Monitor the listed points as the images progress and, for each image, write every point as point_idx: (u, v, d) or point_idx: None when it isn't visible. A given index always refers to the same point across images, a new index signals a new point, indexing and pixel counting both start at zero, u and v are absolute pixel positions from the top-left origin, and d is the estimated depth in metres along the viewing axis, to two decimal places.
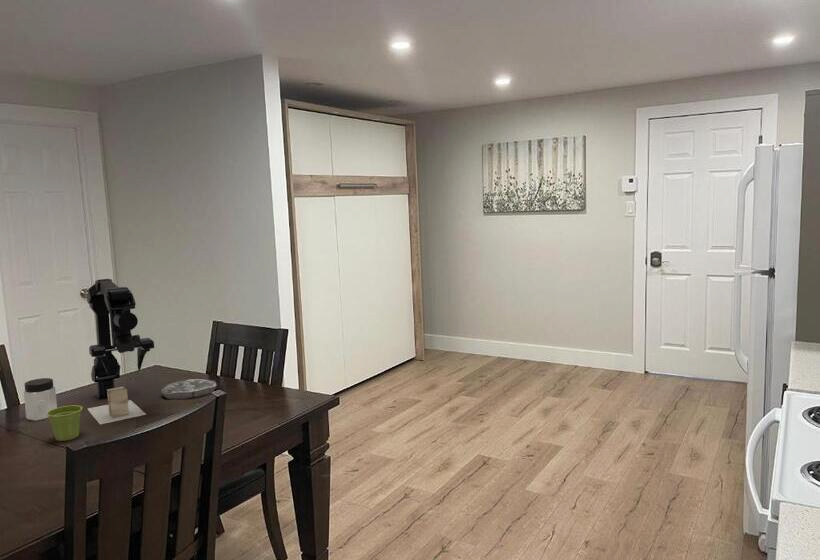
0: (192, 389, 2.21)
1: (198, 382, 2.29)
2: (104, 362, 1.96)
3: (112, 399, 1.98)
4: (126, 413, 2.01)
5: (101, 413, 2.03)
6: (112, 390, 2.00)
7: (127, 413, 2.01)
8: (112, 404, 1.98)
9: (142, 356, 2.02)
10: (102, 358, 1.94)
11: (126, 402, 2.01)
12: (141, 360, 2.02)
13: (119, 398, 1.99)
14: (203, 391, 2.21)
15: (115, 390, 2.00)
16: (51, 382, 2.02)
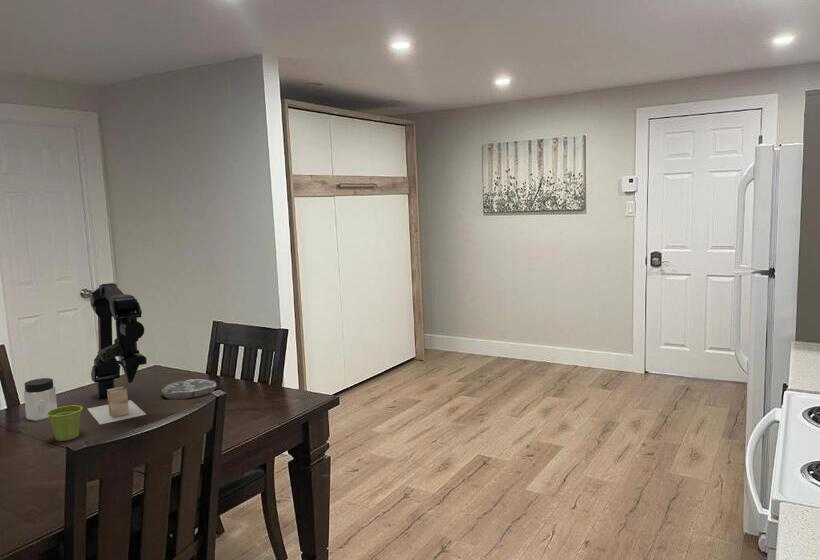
0: (192, 389, 2.21)
1: (198, 382, 2.29)
2: (123, 368, 1.97)
3: (112, 399, 1.98)
4: (126, 413, 2.01)
5: (101, 413, 2.03)
6: (112, 390, 2.00)
7: (127, 413, 2.01)
8: (112, 404, 1.98)
9: (125, 369, 1.95)
10: (118, 363, 1.97)
11: (126, 402, 2.01)
12: (126, 373, 1.95)
13: (119, 398, 1.99)
14: (203, 391, 2.21)
15: (115, 390, 2.00)
16: (51, 382, 2.02)
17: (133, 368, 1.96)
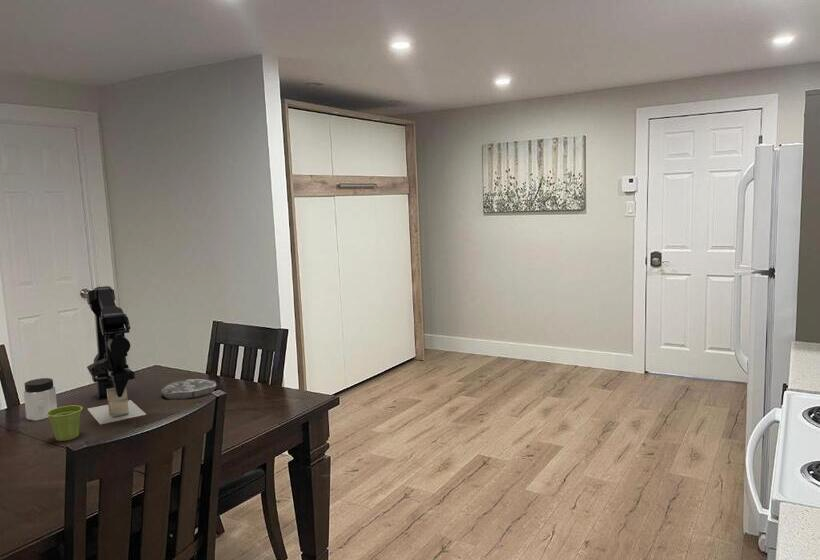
0: (192, 389, 2.21)
1: (198, 382, 2.29)
2: (113, 382, 1.99)
3: (112, 397, 1.98)
4: (126, 412, 2.01)
5: (101, 413, 2.03)
6: (111, 389, 2.01)
7: (127, 412, 2.01)
8: (112, 403, 1.98)
9: (114, 384, 1.97)
10: (108, 378, 1.98)
11: (126, 401, 2.01)
12: (115, 387, 1.97)
13: (118, 397, 2.00)
14: (203, 391, 2.21)
15: (114, 389, 2.01)
16: (51, 382, 2.02)
17: (122, 383, 1.98)
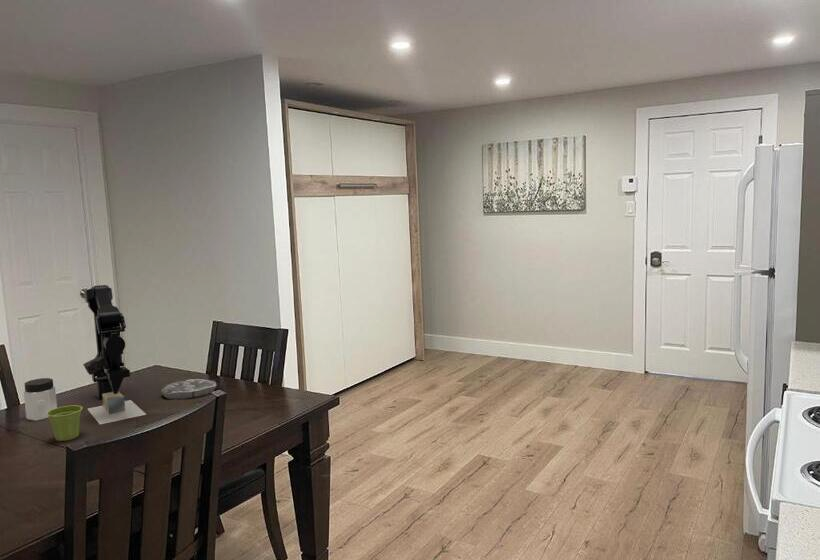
0: (192, 389, 2.21)
1: (198, 382, 2.29)
2: (108, 379, 2.03)
3: (104, 395, 2.07)
4: (121, 396, 2.05)
5: (101, 413, 2.03)
6: None
7: (122, 396, 2.05)
8: (105, 396, 2.06)
9: (110, 381, 2.01)
10: (104, 375, 2.03)
11: (119, 393, 2.08)
12: (111, 385, 2.02)
13: (111, 394, 2.08)
14: (203, 391, 2.21)
15: None
16: (51, 382, 2.02)
17: (118, 380, 2.02)
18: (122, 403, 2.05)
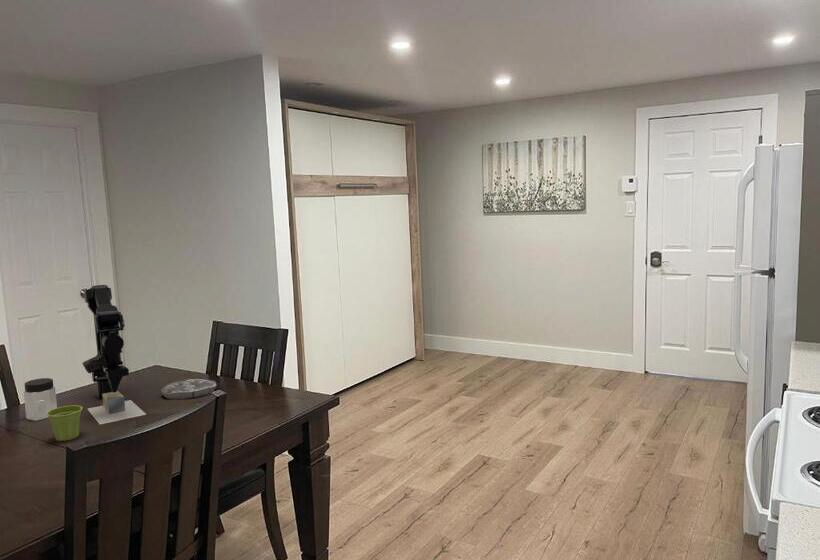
0: (192, 389, 2.21)
1: (198, 382, 2.29)
2: (107, 378, 2.04)
3: (104, 395, 2.07)
4: (121, 396, 2.05)
5: (101, 413, 2.03)
6: None
7: (122, 396, 2.05)
8: (105, 396, 2.06)
9: (109, 380, 2.02)
10: (103, 374, 2.04)
11: (119, 393, 2.08)
12: (110, 383, 2.03)
13: (111, 394, 2.08)
14: (203, 391, 2.21)
15: None
16: (51, 382, 2.02)
17: (117, 378, 2.04)
18: (122, 403, 2.05)
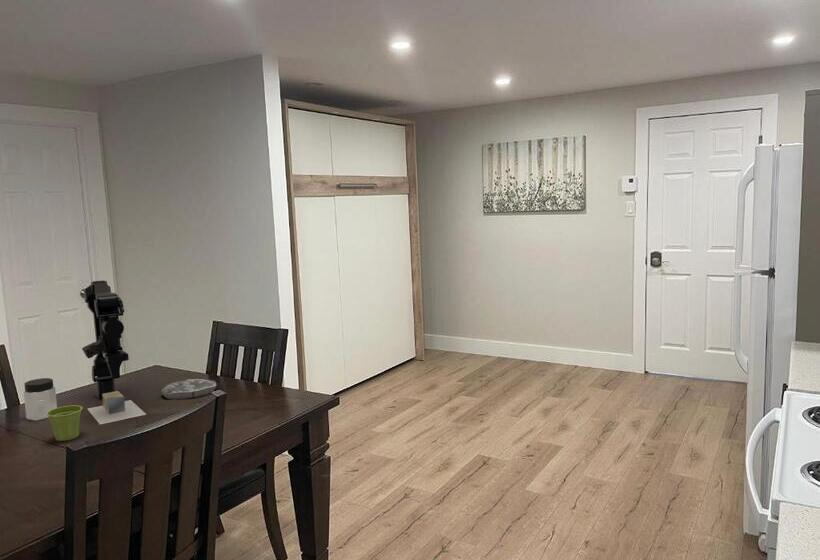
0: (192, 389, 2.21)
1: (198, 382, 2.29)
2: (107, 364, 2.04)
3: (104, 395, 2.07)
4: (121, 396, 2.05)
5: (101, 413, 2.03)
6: None
7: (122, 396, 2.05)
8: (105, 396, 2.06)
9: (109, 365, 2.02)
10: (102, 359, 2.04)
11: (119, 393, 2.08)
12: (110, 369, 2.03)
13: (111, 394, 2.08)
14: (203, 391, 2.21)
15: None
16: (51, 382, 2.02)
17: (116, 364, 2.03)
18: (122, 403, 2.05)
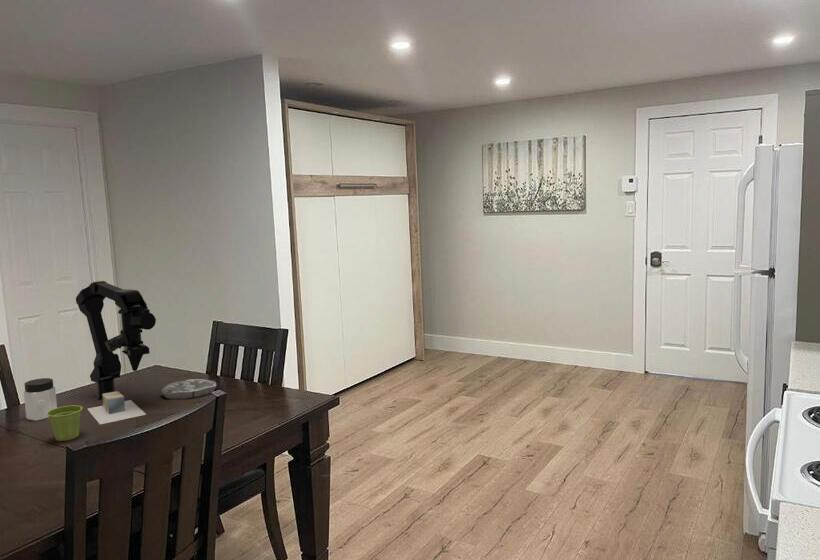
0: (192, 389, 2.21)
1: (198, 382, 2.29)
2: (128, 357, 2.12)
3: (104, 395, 2.07)
4: (121, 396, 2.05)
5: (101, 413, 2.03)
6: None
7: (122, 396, 2.05)
8: (105, 396, 2.06)
9: (130, 358, 2.10)
10: None
11: (119, 393, 2.08)
12: (131, 362, 2.11)
13: (111, 394, 2.08)
14: (203, 391, 2.21)
15: None
16: (51, 382, 2.02)
17: (137, 357, 2.11)
18: (122, 403, 2.05)
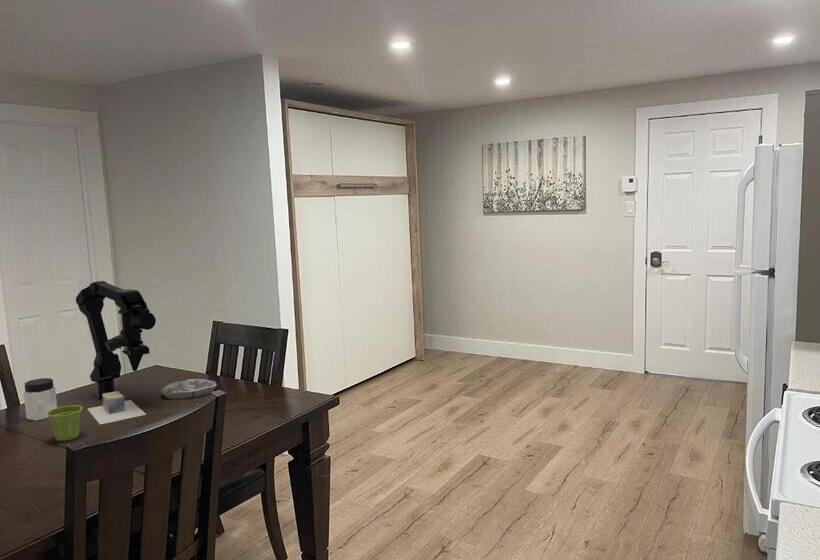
0: (192, 389, 2.21)
1: (198, 382, 2.29)
2: (128, 357, 2.12)
3: (104, 395, 2.07)
4: (121, 396, 2.05)
5: (101, 413, 2.03)
6: None
7: (122, 396, 2.05)
8: (105, 396, 2.06)
9: (130, 358, 2.10)
10: None
11: (119, 393, 2.08)
12: (131, 362, 2.11)
13: (111, 394, 2.08)
14: (203, 391, 2.21)
15: None
16: (51, 382, 2.02)
17: (137, 357, 2.11)
18: (122, 403, 2.05)
